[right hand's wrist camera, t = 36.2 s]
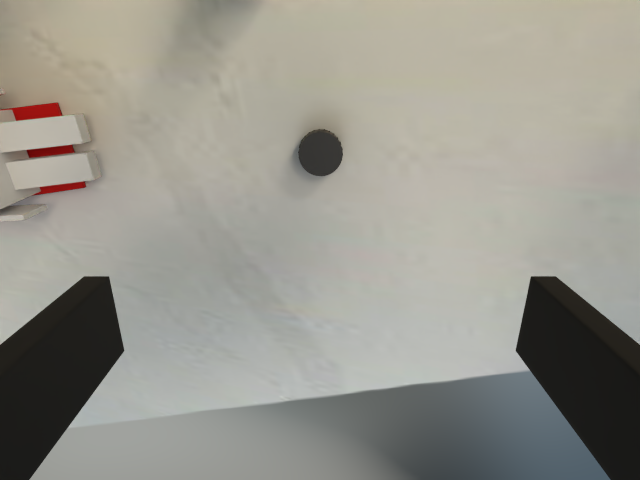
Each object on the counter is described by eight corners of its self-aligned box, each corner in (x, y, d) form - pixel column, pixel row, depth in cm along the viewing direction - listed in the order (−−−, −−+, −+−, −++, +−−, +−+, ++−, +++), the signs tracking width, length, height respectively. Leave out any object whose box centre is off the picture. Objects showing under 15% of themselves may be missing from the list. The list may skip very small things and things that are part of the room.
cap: (345, 167, 45) (346, 171, 43) (304, 175, 46) (303, 180, 44) (337, 125, 44) (338, 127, 42) (295, 133, 44) (294, 136, 42)
